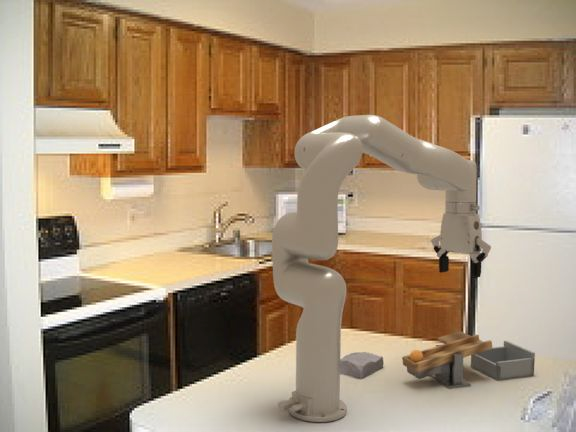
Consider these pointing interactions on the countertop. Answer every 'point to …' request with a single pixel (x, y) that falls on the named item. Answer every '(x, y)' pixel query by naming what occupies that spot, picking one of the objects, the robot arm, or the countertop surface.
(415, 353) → the ball
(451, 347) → the seesaw
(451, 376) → the fulcrum
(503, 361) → the tray
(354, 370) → the stone block
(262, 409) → the countertop surface
